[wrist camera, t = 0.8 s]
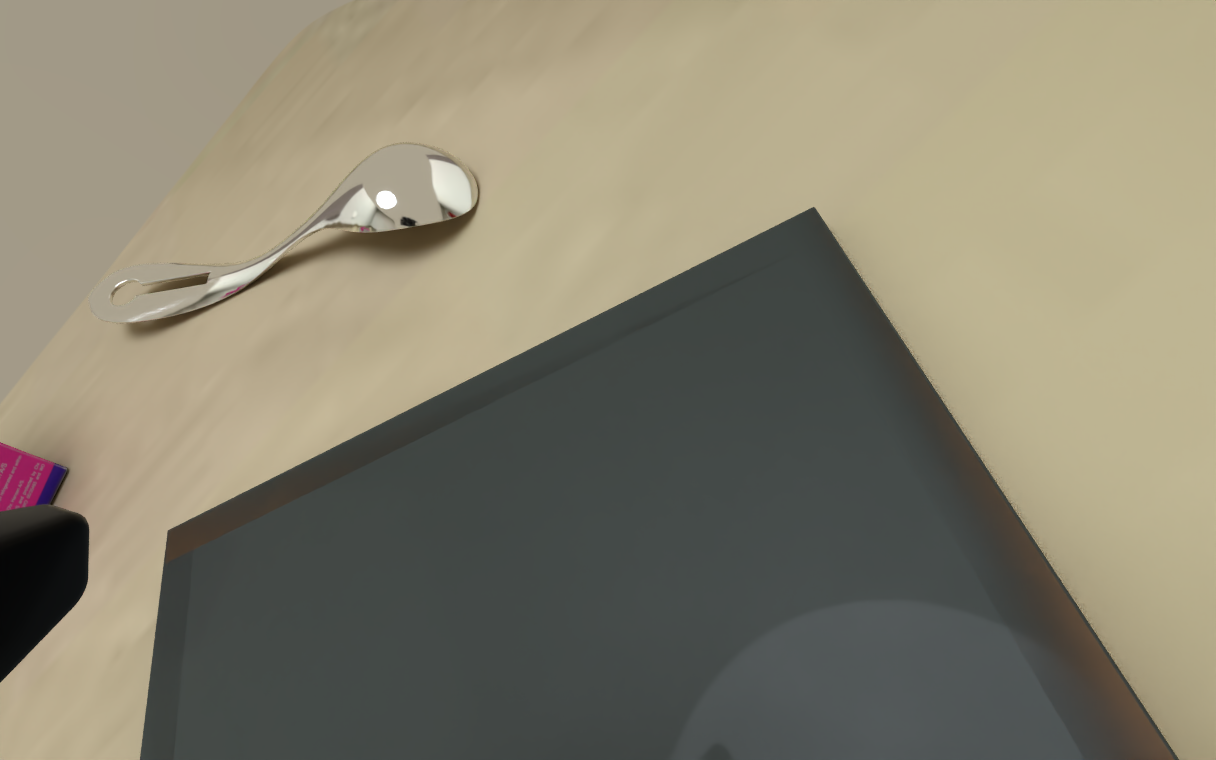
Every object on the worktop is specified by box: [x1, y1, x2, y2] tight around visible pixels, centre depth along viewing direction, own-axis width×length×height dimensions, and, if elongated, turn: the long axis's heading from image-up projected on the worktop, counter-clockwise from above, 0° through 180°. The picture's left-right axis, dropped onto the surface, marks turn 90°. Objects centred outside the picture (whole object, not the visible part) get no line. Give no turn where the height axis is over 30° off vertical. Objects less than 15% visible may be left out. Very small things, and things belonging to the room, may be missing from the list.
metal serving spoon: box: [88, 142, 478, 324], centre depth 32 cm, size 20×4×5 cm
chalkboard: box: [140, 207, 1179, 760], centre depth 19 cm, size 16×24×1 cm, turn 106°
